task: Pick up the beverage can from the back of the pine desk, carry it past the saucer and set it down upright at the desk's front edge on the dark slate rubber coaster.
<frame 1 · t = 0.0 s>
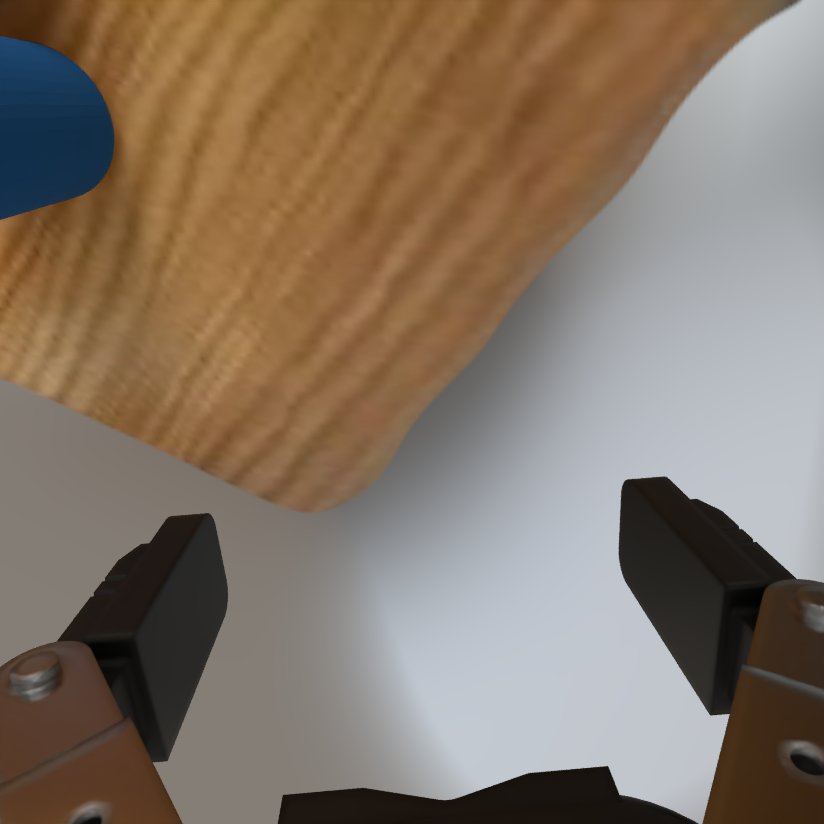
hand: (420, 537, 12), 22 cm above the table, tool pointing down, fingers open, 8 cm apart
beverage can: (50, 123, 28), on the table
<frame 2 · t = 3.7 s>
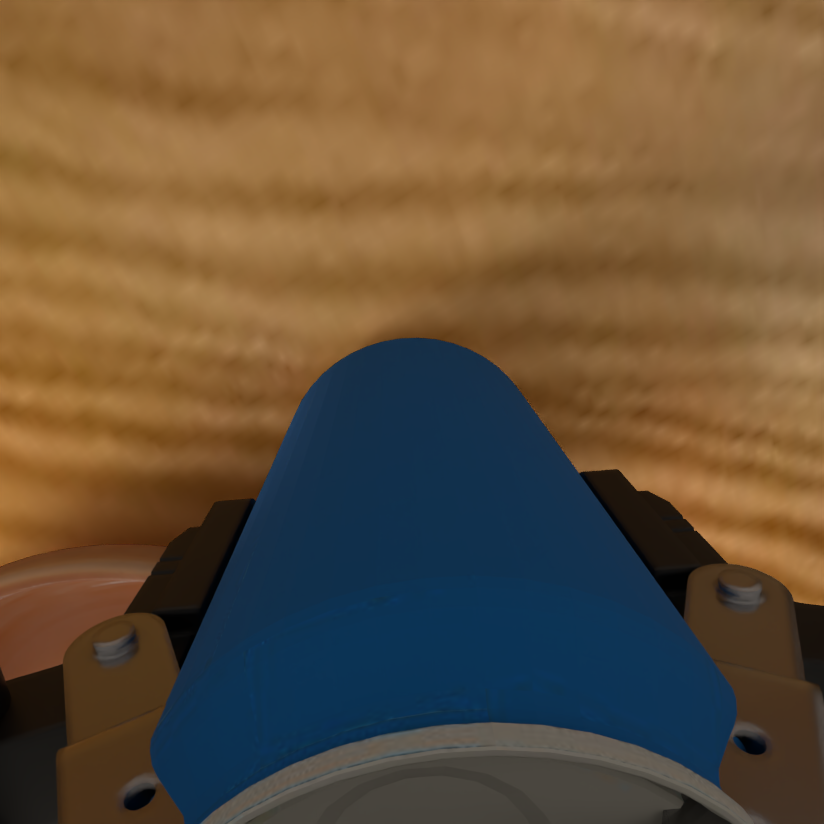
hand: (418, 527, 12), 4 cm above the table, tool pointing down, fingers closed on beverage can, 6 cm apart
beverage can: (412, 447, 16), on the table, touching gripper
saucer: (182, 727, 19), on the table
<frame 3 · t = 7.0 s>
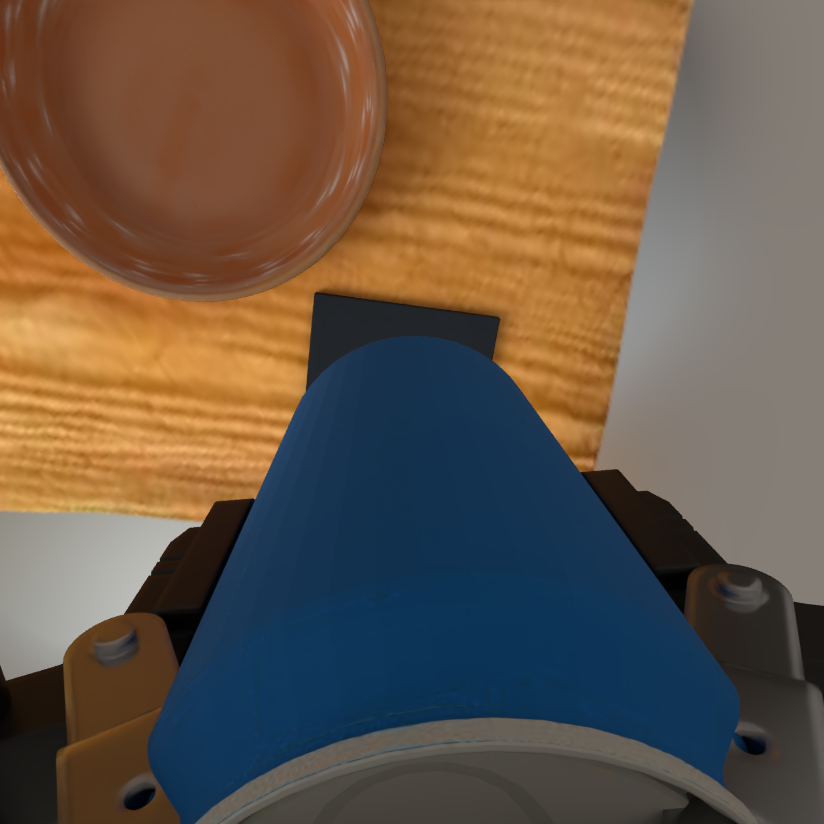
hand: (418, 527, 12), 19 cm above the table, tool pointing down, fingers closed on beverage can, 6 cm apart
beverage can: (411, 445, 16), point 14 cm above the table, touching gripper
saucer: (204, 107, 26), on the table
coaster: (396, 392, 31), on the table
when the fingers open (5 cm above the table, at t = 10.3 s): beverage can stays where it is, resting on coaster.
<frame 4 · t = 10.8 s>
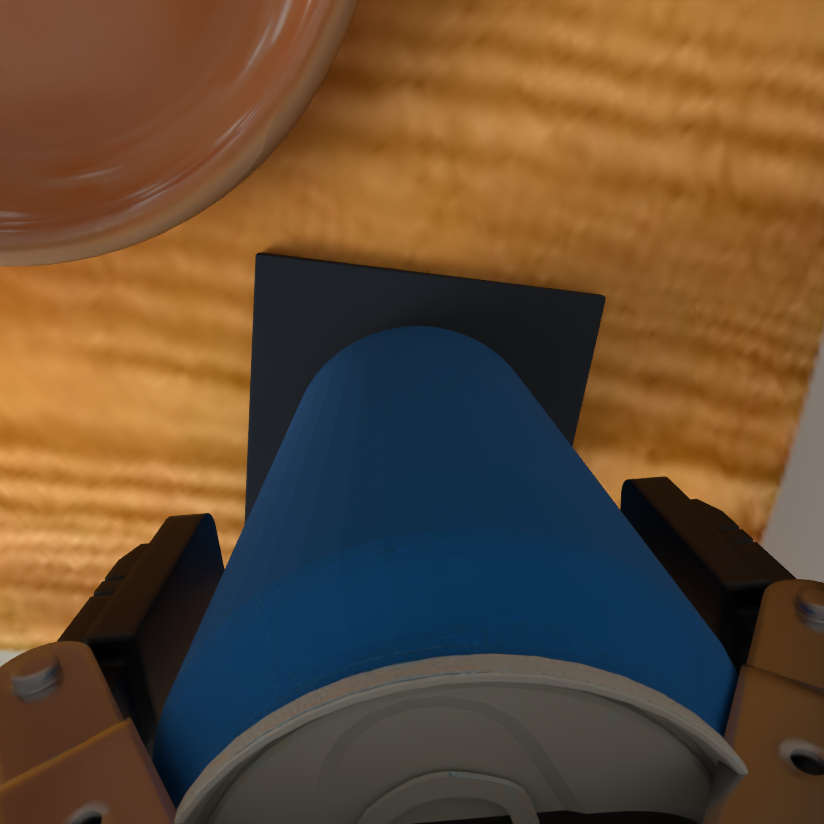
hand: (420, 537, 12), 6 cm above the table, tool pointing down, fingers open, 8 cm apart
beverage can: (414, 433, 17), resting on coaster
coaster: (412, 434, 17), on the table
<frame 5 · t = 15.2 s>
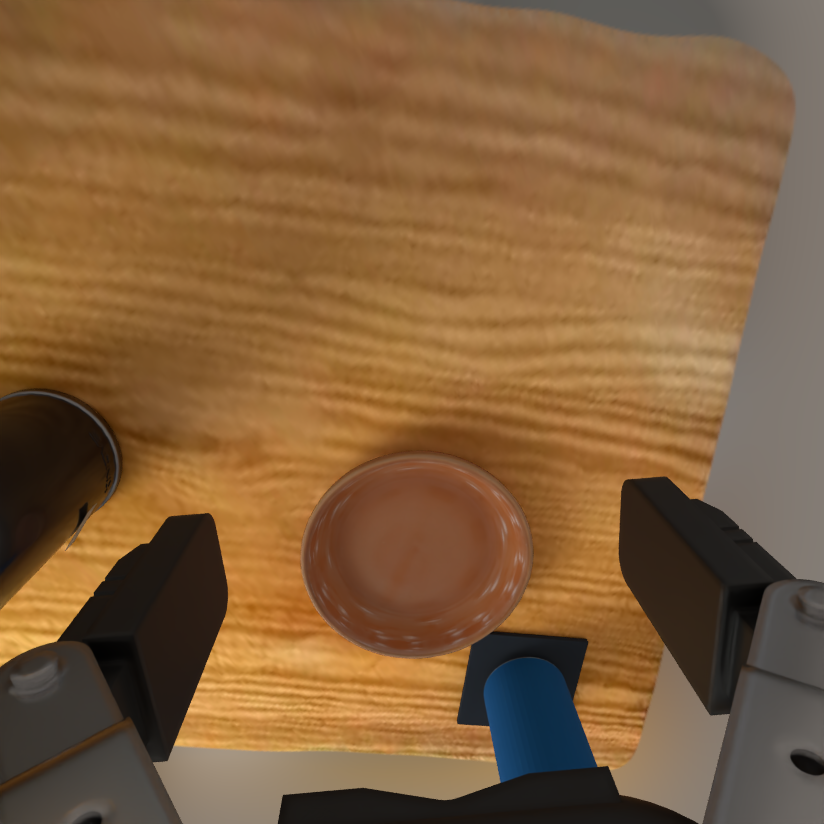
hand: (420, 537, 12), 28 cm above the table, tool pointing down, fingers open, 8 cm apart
beverage can: (521, 681, 48), resting on coaster
saucer: (415, 540, 44), on the table
coaster: (520, 680, 48), on the table
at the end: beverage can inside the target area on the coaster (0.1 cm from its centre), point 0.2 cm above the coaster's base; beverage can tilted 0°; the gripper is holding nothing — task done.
